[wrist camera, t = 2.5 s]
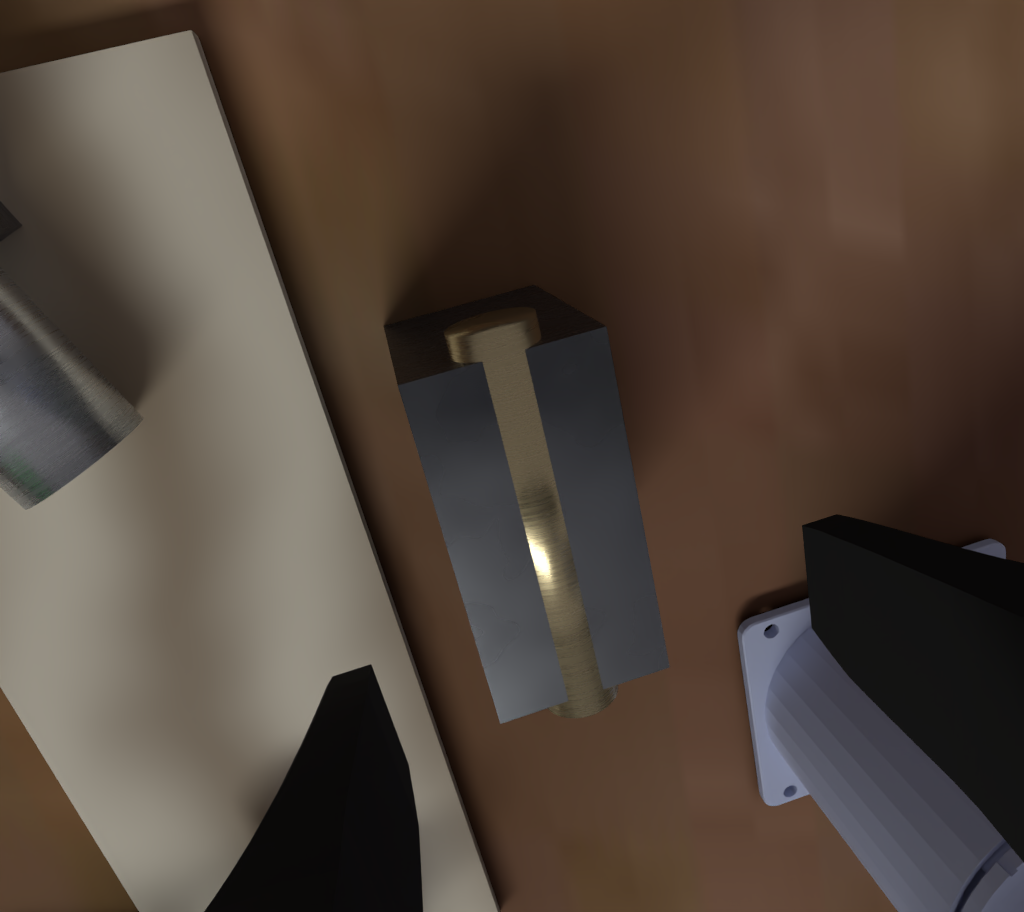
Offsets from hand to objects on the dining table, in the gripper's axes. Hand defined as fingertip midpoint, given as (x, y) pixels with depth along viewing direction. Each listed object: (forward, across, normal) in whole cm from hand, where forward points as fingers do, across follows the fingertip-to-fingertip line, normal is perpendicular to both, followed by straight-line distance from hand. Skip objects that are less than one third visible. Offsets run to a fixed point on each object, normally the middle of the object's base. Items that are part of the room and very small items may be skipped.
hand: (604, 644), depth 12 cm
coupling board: (+10, +9, +3) cm, 13 cm away
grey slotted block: (+10, 0, 0) cm, 10 cm away
